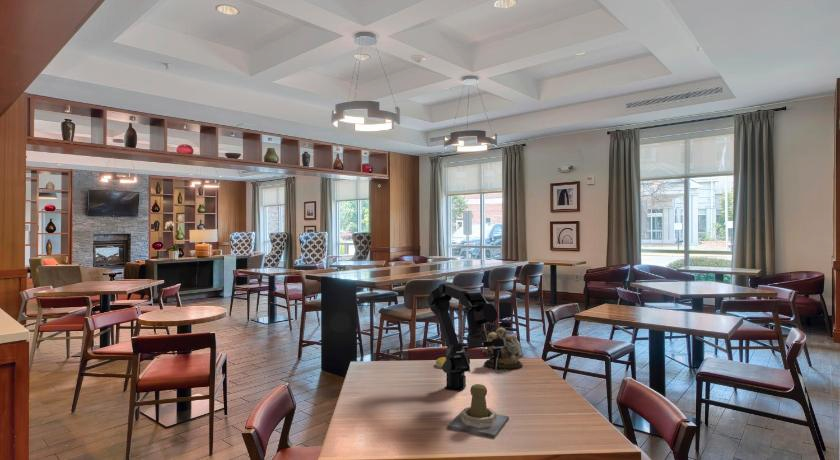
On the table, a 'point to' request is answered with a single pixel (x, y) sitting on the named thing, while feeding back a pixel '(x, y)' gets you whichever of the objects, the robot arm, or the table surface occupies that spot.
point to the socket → (479, 423)
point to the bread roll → (440, 362)
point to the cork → (478, 401)
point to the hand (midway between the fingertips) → (482, 370)
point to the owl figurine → (504, 352)
